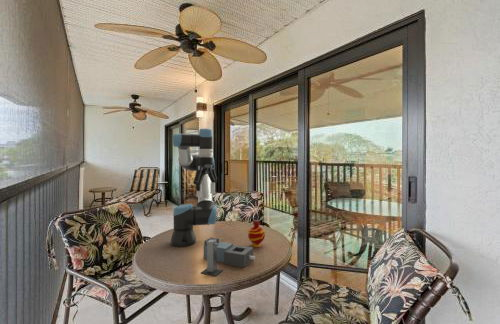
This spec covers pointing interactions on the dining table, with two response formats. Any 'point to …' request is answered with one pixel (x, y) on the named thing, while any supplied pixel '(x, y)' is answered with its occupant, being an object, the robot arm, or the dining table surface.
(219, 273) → the mat
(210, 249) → the gray block with peg
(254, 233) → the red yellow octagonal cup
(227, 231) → the dining table surface
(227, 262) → the block with square socket
